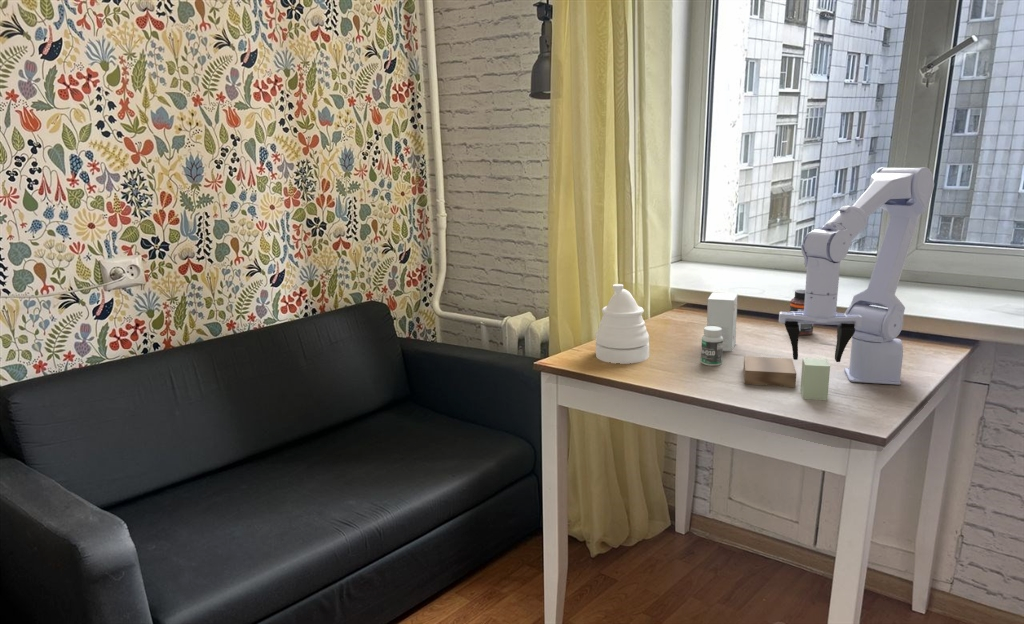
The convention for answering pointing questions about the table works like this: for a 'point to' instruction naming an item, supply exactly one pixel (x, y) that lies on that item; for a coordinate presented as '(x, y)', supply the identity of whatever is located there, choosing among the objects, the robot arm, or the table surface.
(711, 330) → the pill bottle
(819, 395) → the sage block
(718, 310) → the small box
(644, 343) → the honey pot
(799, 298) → the supplement bottle
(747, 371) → the walnut base
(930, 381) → the table surface
